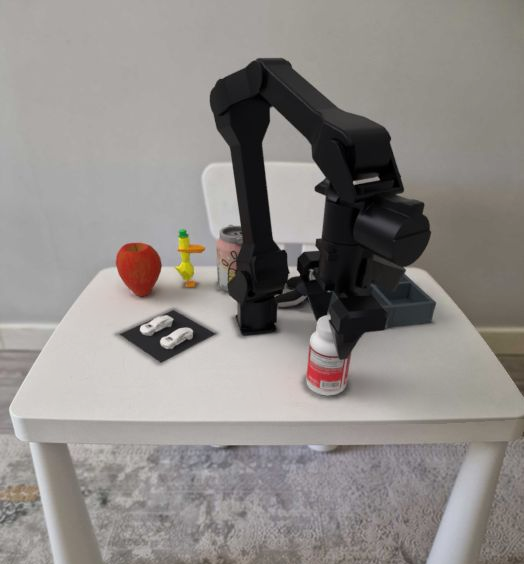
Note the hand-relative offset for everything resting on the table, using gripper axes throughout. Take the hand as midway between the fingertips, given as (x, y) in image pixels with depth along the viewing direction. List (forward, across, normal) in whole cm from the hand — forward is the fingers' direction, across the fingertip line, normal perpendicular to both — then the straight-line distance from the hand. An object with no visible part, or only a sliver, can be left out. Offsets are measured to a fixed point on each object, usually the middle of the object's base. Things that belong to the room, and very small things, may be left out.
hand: (331, 340), depth 65 cm
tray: (+8, +22, -17) cm, 29 cm away
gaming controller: (+8, +27, -3) cm, 28 cm away
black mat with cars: (+8, +19, +23) cm, 31 cm away
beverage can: (+8, +35, +7) cm, 37 cm away
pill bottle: (+8, 0, 0) cm, 8 cm away
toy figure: (+8, +37, +17) cm, 41 cm away
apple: (+8, +35, +27) cm, 45 cm away
